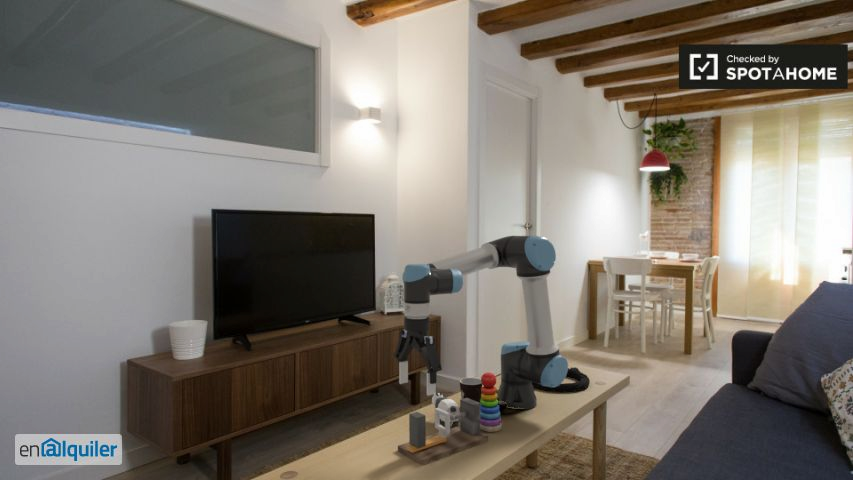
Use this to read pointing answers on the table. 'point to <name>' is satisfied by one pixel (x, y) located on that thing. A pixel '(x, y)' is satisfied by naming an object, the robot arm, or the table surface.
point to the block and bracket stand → (419, 430)
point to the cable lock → (568, 386)
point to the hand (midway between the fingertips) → (416, 388)
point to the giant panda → (446, 407)
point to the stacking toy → (489, 405)
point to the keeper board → (453, 435)
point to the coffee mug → (471, 388)
